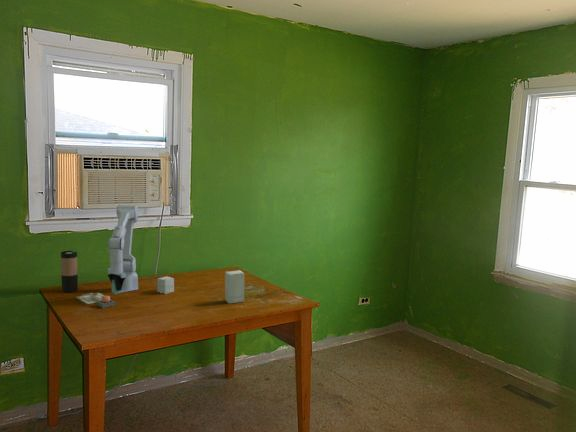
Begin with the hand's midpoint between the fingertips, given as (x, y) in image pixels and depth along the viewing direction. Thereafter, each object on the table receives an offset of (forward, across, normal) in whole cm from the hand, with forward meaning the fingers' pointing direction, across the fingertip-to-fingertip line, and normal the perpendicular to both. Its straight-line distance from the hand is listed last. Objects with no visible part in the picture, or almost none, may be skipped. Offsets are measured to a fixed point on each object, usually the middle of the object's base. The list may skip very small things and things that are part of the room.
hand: (116, 289), depth 236 cm
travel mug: (+5, -28, -12) cm, 31 cm away
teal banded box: (+2, 0, 0) cm, 2 cm away
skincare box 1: (+5, +4, +24) cm, 25 cm away
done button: (+3, +7, -9) cm, 11 cm away
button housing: (+5, +7, -9) cm, 12 cm away
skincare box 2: (+5, +39, +41) cm, 57 cm away
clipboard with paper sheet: (+5, -7, -9) cm, 12 cm away
